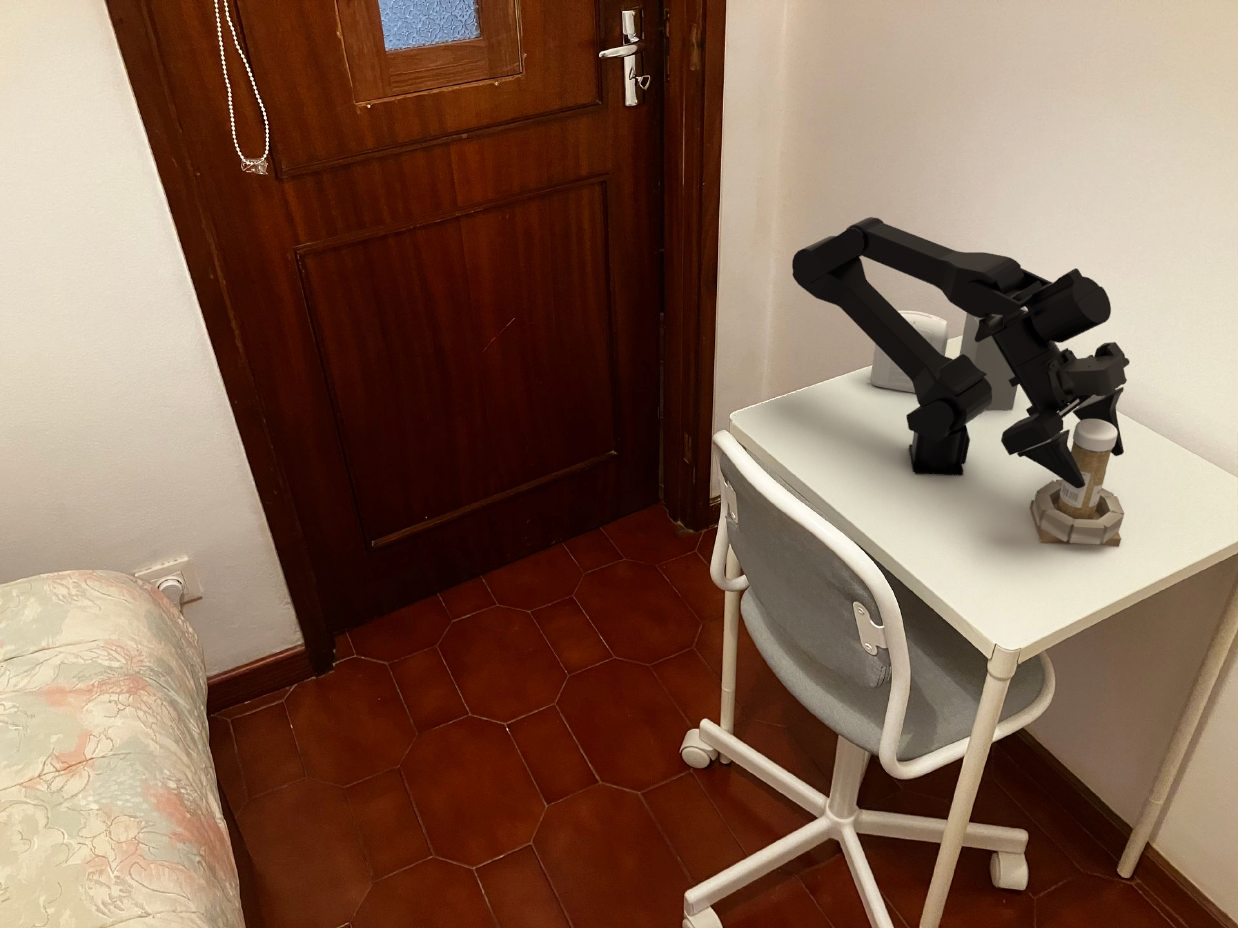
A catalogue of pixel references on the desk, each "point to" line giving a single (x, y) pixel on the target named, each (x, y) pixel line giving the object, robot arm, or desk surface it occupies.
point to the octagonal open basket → (1076, 531)
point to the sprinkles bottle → (1088, 467)
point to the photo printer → (888, 371)
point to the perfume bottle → (989, 364)
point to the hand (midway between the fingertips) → (1101, 470)
